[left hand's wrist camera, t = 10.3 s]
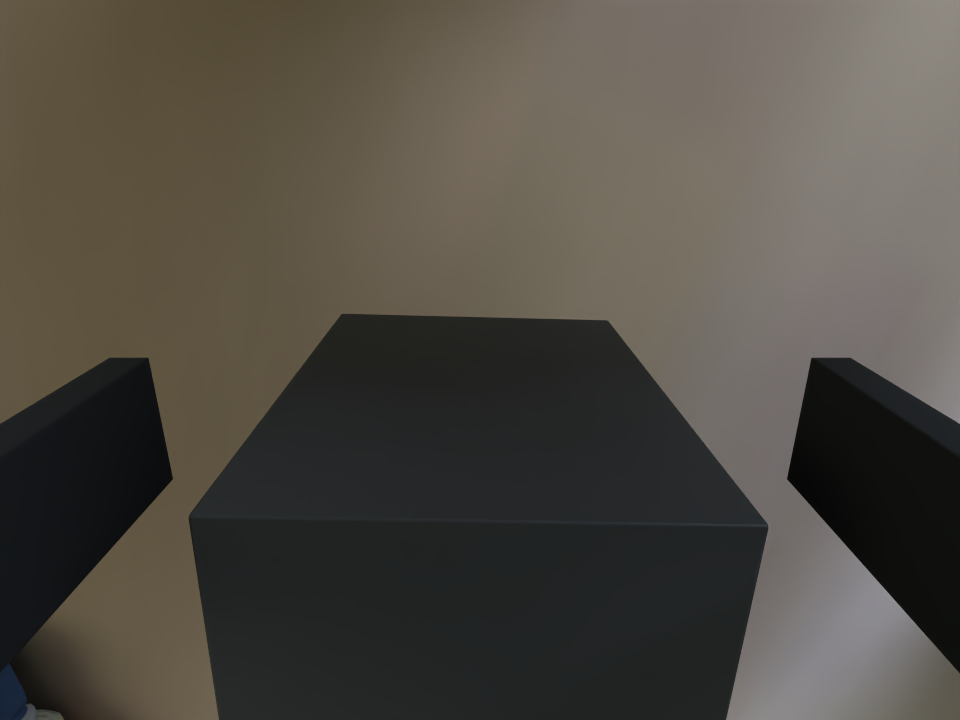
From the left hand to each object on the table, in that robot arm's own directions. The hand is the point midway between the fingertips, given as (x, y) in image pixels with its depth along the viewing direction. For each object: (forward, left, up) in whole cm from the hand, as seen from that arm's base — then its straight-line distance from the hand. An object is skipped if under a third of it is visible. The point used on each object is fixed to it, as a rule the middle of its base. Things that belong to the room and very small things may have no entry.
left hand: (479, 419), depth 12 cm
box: (+4, +13, -6) cm, 15 cm away
